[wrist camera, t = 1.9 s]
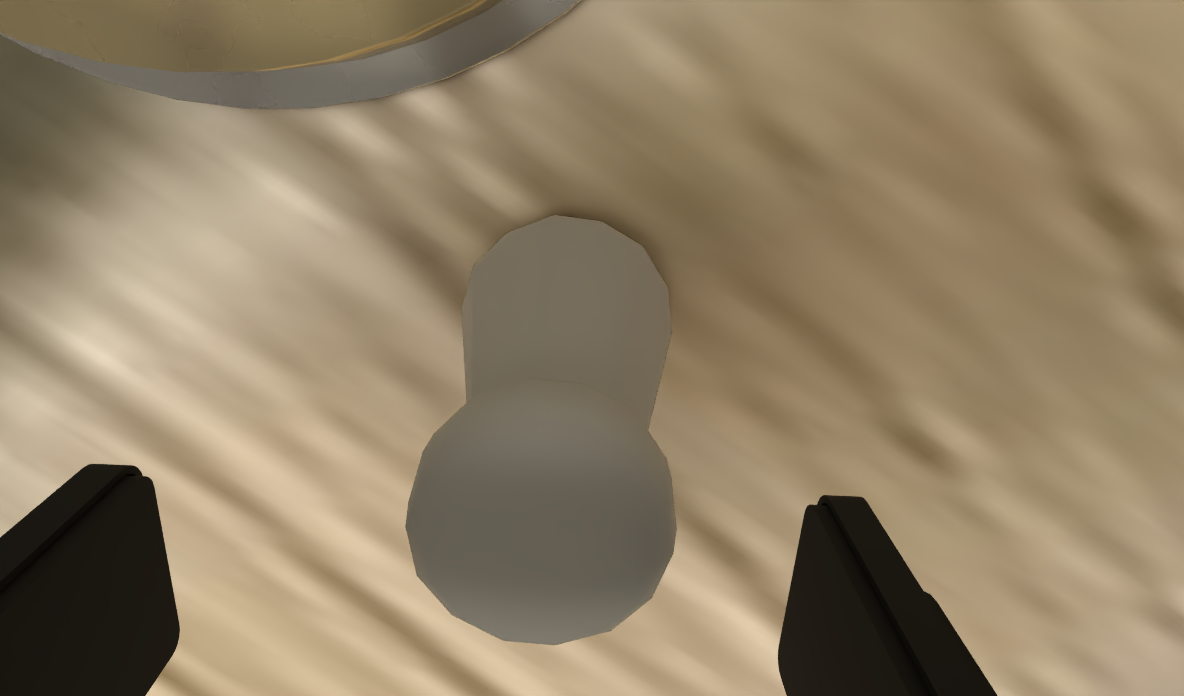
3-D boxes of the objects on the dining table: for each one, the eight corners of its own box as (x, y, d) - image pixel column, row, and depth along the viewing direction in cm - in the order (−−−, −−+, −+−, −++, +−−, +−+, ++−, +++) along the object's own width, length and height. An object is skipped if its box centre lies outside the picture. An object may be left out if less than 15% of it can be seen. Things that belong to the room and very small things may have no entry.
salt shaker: (438, 264, 23) (253, 504, 11) (598, 161, 22) (594, 300, 9) (545, 411, 25) (490, 759, 12) (698, 323, 23) (802, 615, 11)
